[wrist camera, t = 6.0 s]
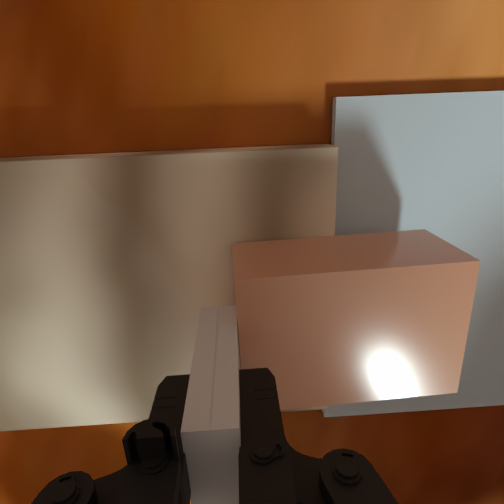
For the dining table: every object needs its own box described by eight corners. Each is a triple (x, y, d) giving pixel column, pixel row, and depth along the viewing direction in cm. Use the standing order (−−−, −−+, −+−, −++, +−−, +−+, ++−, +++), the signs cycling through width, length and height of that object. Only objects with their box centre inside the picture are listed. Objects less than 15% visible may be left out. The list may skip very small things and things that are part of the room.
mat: (707, 82, 18) (722, 81, 17) (598, 391, 24) (606, 397, 23) (332, 97, 17) (336, 97, 16) (321, 410, 23) (324, 417, 23)
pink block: (424, 229, 17) (480, 260, 14) (411, 339, 19) (457, 392, 16) (231, 243, 17) (234, 280, 13) (239, 354, 19) (244, 413, 15)
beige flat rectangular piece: (327, 143, 18) (338, 147, 16) (319, 384, 23) (327, 408, 21) (-65, 160, 17) (-102, 166, 15) (15, 404, 22) (-6, 431, 20)
